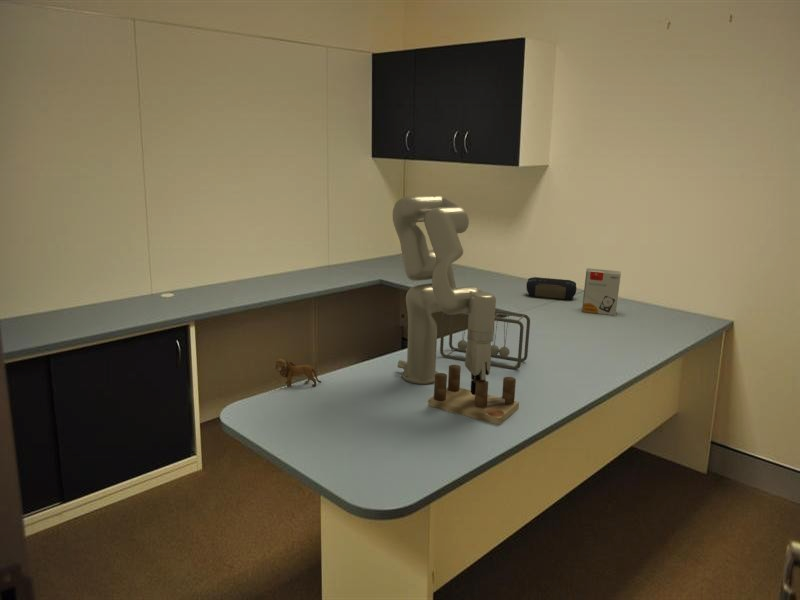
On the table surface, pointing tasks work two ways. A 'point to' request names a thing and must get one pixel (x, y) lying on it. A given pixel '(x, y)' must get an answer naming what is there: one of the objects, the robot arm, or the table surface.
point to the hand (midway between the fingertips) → (476, 393)
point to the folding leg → (507, 397)
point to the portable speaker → (551, 288)
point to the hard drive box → (601, 291)
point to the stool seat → (466, 399)
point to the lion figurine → (295, 371)
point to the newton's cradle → (494, 349)
